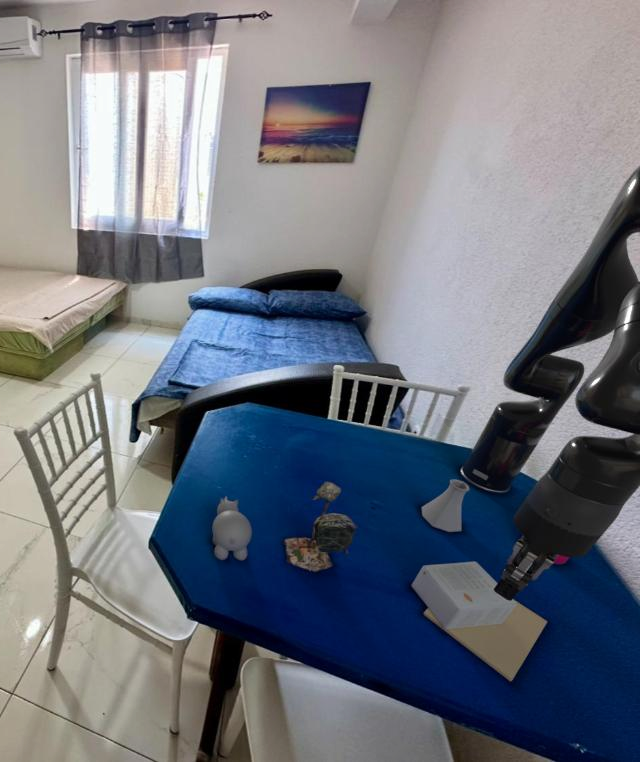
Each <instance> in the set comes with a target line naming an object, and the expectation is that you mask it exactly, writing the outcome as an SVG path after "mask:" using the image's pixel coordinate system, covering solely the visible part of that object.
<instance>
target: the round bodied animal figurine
mask: <svg viewBox="0 0 640 762" xmlns="http://www.w3.org/2000/svg"><path fill="white" fill-rule="evenodd" d="M238 505H239V499H236V500H234V501H231V500H228V496H226V495H225V497H224V498H222V497H221V498H220V500H219V503H218V506H217V509H216V513H217V516H215V519H214V520H213V522H212V529H211V530H212V535H213V536H212V543H213V544H214V546H215V547H214V550H213V554H214V556H215V557H216V559H218V560H220V561H224V560H226V559H227V558H228V557H229V552H231V551H232V554H233V557H234V558H235V559H236V560H238V561H244V560H246V559H247V557H248V549H247V546H248V545H249V544H250V541H251V540H252V534H253V529H252V526H251V525H252V524H251V523H250V521H249V520H248V518H247V517H246V516H245V515H244V514H242V512H239V511H240V510H239V507H238Z"/></svg>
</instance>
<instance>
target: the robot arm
mask: <svg viewBox="0 0 640 762" xmlns="http://www.w3.org/2000/svg"><path fill="white" fill-rule="evenodd" d="M627 177H628V178H626V180H625V181H624V183H623V184H622V186H621V188H620V189H619V191H618V192H617V193H616V195H615V198H614V199H613V201H612V203H611V204H610V206H609V208H608V210H607V212H606V214H605V216H604V217H603V220H602V221H601V223H600V225H599V227H598V229H597V231H596V233H595V235H594V236H593V238H592V240H591V242H589V243H590V244H589V246H588V247H587V249H586V251H585V252H584V254H583V255H582V257H581V259H580V260H579V261H578V263H577V264H576V266H575V267H574V269H573V270H572V271H571V273H570V275H568V277H567V279H566V280H565V282H564V283H563V284H562V286H561V287H560V289H559V290H558V291H557V293H556V294H555V296H554V298H553V299H552V300H551V302H550V304H549V306H548V307H547V309H546V311H545V313H544V314H543V316H542V318H541V320H540V322H539V323H538V325H537V326H536V328H535V329H534V331H533V333H532V334H531V335H530V337H529V338H528V340H527V341H526V342H525V343H524V344H523V345H522V347H520V349H519V351H518V352H517V353H516V354H515V356H514V357H513V358H512V360H511V361H510V362H509V364H508V366H507V367H506V370H505V371H504V374H503V379H502V382H503V386H504V387H505V388H506V389H508V390H510V391H512V392H515V393H519V394H522V395H525V396H528V397H532V398H536V399H533V400H525V401H521V400H520V401H519V400H518V401H517V400H508V401H501V402H499V403H498V404H497V405H496V406H495V407H494V409H493V411H492V413H491V415H490V417H489V419H488V420H487V423H486V424H485V426H484V428H483V430H482V431H481V433H480V435H479V437H478V439H477V440H476V443H475V445H474V446H473V448H472V450H471V452H470V453H469V455H468V457H467V458H466V460H465V463H464V464H463V466H462V467H461V468H460V470H459V473H460V476H461V478H463V480H465V482H466V483H468V484H469V485H471V486H473V487H475V488H476V489H478V490H481V491H483V492H487V493H490V494H495V495H504V494H507V493H508V492H509V491H510V489H511V487H512V485H513V483H514V482H515V480H516V479H517V477H518V476H519V474H520V472H521V471H522V469H523V468H524V466H526V465H525V464H526V463H527V461H528V460H529V458H530V457H531V455H532V454H533V452H534V451H535V449H536V448H537V446H538V444H539V443H540V441H541V439H542V438H543V437H544V435H545V433H546V432H547V430H548V429H549V428H550V426H551V424H552V423H553V421H554V419H555V418H556V417H557V415H558V413H559V412H560V411H561V409H562V408H563V407H564V405H565V404H566V403H567V402H568V400H569V399H570V398H571V396H572V395H573V393H574V392H575V391H576V390H577V388H578V386H579V385H580V383H581V381H582V380H583V378H584V375H585V365H584V364H583V363H582V362H581V361H579V360H575V359H572V358H567V357H563V356H558V355H555V353H558V352H561V351H563V350H567V349H570V348H574V347H578V346H583V345H585V344H588V343H591V342H594V341H596V340H599V339H602V338H603V337H605V336H607V335H608V334H611V333H612V332H613V335H612V339H611V341H610V344H609V346H608V348H607V350H606V352H605V354H604V356H603V357H602V359H601V360H600V362H599V363H598V365H597V366H596V367H595V369H594V370H593V371H592V372H591V373H590V375H589V376H587V378H586V379H585V380H584V382H583V383H581V386H580V387H579V389H578V390H577V392H576V395H575V399H574V400H575V401H574V403H575V407H576V410H577V412H578V414H579V415H580V416H581V417H582V418H583V419H584V420H585V421H587V422H589V423H592V424H595V425H598V426H601V427H606V428H610V429H614V430H618V431H621V432H625V433H628V434H631V435H628V436H623V437H606V436H597V435H578V436H575V437H573V438H571V439H569V441H568V442H567V443H566V444H565V445H564V447H563V448H562V449H561V451H560V453H559V454H558V455H557V457H556V458H555V460H554V462H553V463H552V464H551V466H550V467H549V469H548V470H547V471H546V472H545V473H544V474H543V475H542V476H541V477H540V478H539V479H538V480H537V482H536V483H535V485H533V487H532V489H531V490H530V491H529V493H528V495H527V497H526V498H525V499H524V501H523V502H522V504H521V505H520V506H519V508H518V510H517V511H516V512H515V514H514V515H513V519H512V520H513V521H512V522H513V525H514V527H515V528H516V530H517V531H518V532H519V533H520V534H521V535H522V536H521V537H520V538H519V539H517V541H516V542H515V544H514V545H513V547H512V553H511V554H510V555H509V557H508V558H507V560H506V561H505V567H504V568H505V569H504V570H503V571H502V572H501V573H500V580H499V581H497V583H498V584H497V585H496V586H495V588H494V591H495V592H496V593H497V594H499V595H500V596H502V597H503V598H505V599H506V600H508V601H511V600H512V599H515V597H516V596H517V594H518V593H519V592H521V591H522V590H525V589H526V587H527V586H528V585H529V583H532V581H537V580H538V578H539V577H540V576H541V574H542V573H544V571H545V570H549V569H550V568H551V566H552V565H553V563H554V561H555V560H556V558H557V556H558V555H561V556H564V557H570V558H575V559H577V558H582V557H584V556H586V555H587V554H588V553H589V551H590V550H592V548H593V547H594V546H595V544H596V543H597V542H598V541H599V540H600V539H601V537H603V535H604V534H605V532H607V530H608V529H609V528H610V527H611V526H612V524H613V523H614V522H615V521H616V520H617V518H618V517H619V515H620V513H621V511H622V509H623V507H624V506H625V504H627V502H628V501H629V500H630V498H631V497H632V496H633V495H634V494H635V492H636V491H637V490H638V489H639V488H640V280H639V278H638V276H637V273H636V270H635V269H634V267H633V264H632V262H631V261H630V257H629V252H628V251H629V250H628V239H629V238H630V236H632V235H634V234H636V233H637V234H639V233H640V165H639V166H637V167H636V168H635V169H634V170H633V171H632V173H631V174H630V175H629V176H627Z"/></svg>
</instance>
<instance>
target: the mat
mask: <svg viewBox="0 0 640 762" xmlns="http://www.w3.org/2000/svg"><path fill="white" fill-rule="evenodd" d="M513 600H514V601H515V602H516V603H517V606H516V607H515V608H514V609H513V610H512V612H511V613H510V614H509V615H508V617H507V618H506V619H505V620H504V621H503V622H502V624H495V625H484V626H475V627H464V628H455V629H445V628H444V627H443V626H442V624H441V623H440V622H439V621H438V619H437V618H436V617H435V615H434V614H433V613H432V612H431V610H430V609H429V608H428V607H427V608H426V610H425V611H423V616H424V617H426V618H427V619H429V620H430V621H431V622H433V623H434V624H435V625H437V627H439V628H440V629H441V630H443V631H444V632H445V633H447V634H448V635H450V636H451V637H452V638H453V639H454V640H456V641H457V642H458V643H460V644H461V645H462V646H464V647H465V648H466V649H467V650H469V651H470V652H471V653H473V654H474V655H475V656H477V657H478V658H479V659H481V661H483V662H484V663H486V664H487V665H488V666H489V667H491V668H492V669H494V670H495V671H496V672H497V673H499V674H500V675H501V676H502V677H504V678H505V679H506V680H508V681H509V682H512V681H513V680H514V679H515V677H516V675H517V673H518V671H519V670H520V669H521V667H522V665H523V664H524V662H525V660H526V658H527V656H528V655H529V653H530V652H531V650H532V648H533V647H534V645H535V643H536V642H537V640H538V638H539V637H540V635H541V633H542V632H543V630H544V628H545V627H546V625H547V624H548V621H547V620H546V619H544V618H543V617H541V616H540V615H539V614H537V613H536V612H533V611H532V610H531V609H529V608H527V607H526V606H524V605H523V604H521V603H520V602H519V601H516V600H515V598H513Z"/></svg>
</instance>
